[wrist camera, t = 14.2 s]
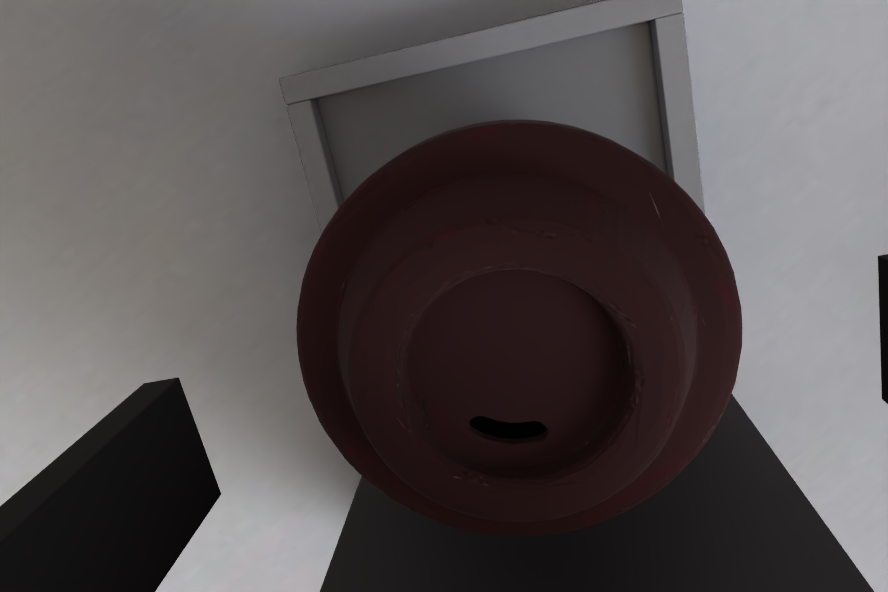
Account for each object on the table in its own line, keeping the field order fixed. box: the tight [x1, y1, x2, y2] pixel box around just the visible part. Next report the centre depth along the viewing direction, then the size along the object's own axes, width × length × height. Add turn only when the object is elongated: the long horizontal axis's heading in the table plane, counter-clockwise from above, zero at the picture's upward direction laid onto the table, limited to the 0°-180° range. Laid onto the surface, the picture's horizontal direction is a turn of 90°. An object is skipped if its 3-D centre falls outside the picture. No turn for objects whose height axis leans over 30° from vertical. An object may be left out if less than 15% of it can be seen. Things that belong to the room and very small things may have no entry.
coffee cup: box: [297, 119, 742, 536], centre depth 21 cm, size 10×10×15 cm
